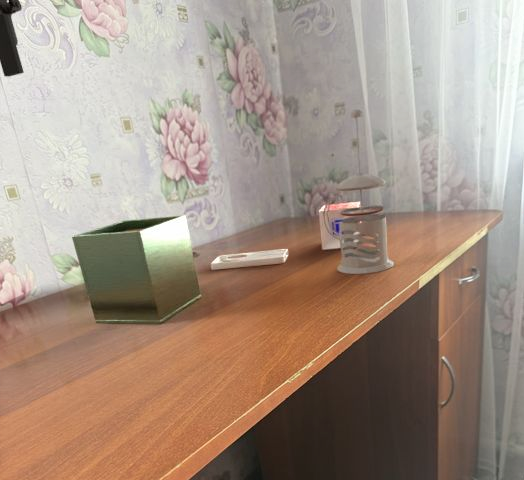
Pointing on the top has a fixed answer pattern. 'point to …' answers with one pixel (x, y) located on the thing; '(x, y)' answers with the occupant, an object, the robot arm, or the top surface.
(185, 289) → the waste bin
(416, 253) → the top surface
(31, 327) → the top surface
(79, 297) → the top surface
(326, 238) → the white red box
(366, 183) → the french press
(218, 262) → the phone case
